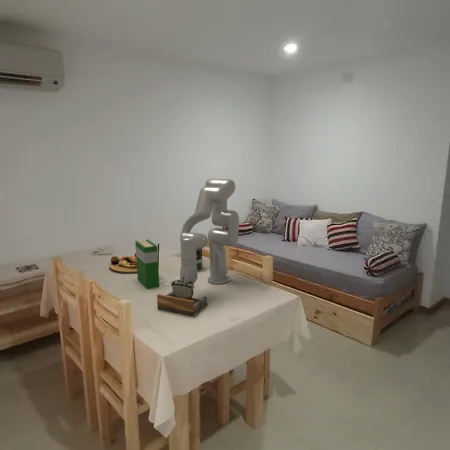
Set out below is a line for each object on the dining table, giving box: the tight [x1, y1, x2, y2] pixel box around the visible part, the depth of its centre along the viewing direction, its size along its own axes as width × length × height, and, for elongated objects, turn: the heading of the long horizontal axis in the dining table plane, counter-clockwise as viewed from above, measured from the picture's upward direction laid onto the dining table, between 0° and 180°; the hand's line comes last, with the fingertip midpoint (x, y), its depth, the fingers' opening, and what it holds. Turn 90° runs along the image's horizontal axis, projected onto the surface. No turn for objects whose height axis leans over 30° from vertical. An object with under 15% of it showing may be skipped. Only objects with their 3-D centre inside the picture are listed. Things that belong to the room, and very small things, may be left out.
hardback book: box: [134, 238, 160, 290], centre depth 209 cm, size 18×7×24 cm, turn 29°
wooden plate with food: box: [109, 252, 137, 275], centre depth 242 cm, size 32×32×8 cm
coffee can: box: [196, 248, 203, 273], centre depth 233 cm, size 10×10×14 cm
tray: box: [156, 290, 208, 318], centre depth 178 cm, size 14×20×8 cm
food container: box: [170, 279, 195, 300], centre depth 180 cm, size 12×6×10 cm, turn 67°
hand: (190, 295), depth 184 cm, fingers closed
